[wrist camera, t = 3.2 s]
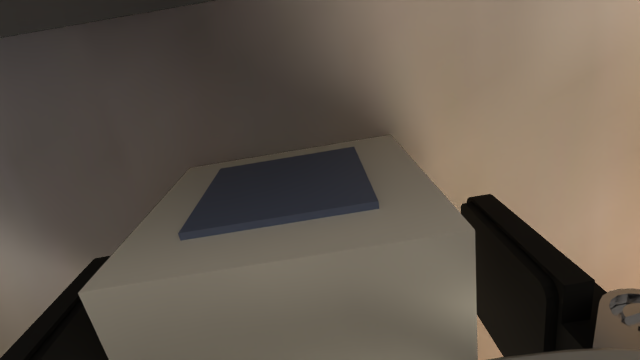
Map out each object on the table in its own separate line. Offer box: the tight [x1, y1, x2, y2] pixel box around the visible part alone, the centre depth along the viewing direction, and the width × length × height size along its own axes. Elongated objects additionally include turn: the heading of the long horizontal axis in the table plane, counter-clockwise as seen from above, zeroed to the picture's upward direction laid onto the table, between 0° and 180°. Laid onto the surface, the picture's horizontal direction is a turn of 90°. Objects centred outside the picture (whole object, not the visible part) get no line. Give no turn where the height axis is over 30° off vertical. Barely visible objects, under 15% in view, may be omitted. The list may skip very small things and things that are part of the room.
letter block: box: [78, 135, 478, 360], centre depth 9 cm, size 6×6×6 cm
